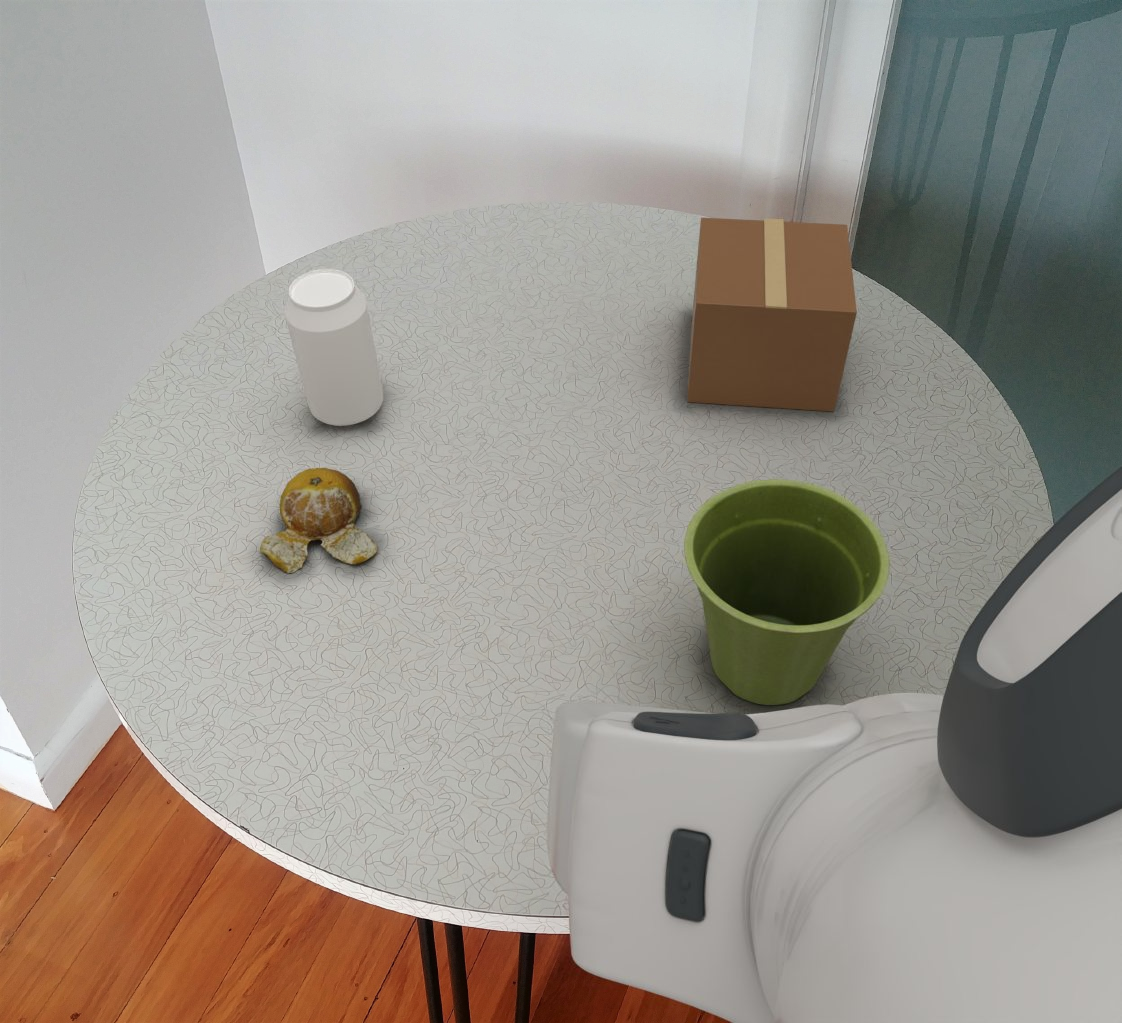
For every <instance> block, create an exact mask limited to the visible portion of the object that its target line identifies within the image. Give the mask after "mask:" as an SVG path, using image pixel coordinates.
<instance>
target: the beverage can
mask: <svg viewBox="0 0 1122 1023" xmlns="http://www.w3.org/2000/svg"><path fill="white" fill-rule="evenodd" d="M284 317H285V321H286V326H287V329H288V333H289V337H290V339H291V340H290V341H291V344H292V348H293V352H294V356H295V360H296V364H297V369H298V371H299V376H300V380H301V383H302V387H303V391H304V395H305V398H306V402H307V405H308V409H309V411H310V413H311V415H312V416H313V417H314V418H315V419H316V420H318V421H319V422H321V423H324V424H327V425H330V426H337V427H344V426H352V425H355V424H359V423H362V422H364V421H366V420H368V419H370V418H371V417H373V416H374V415H375V414H376V413H377V412H378V411H379V410H380V408H381V407H382V405H383V402H384V388H383V383H382V377H381V372H380V366H379V361H378V356H377V355H378V354H377V348H376V344H375V338H374V334H373V328H372V323H371V317H370V313H369V306H368V301H367V298H366V295H365V294H364V293H363V292H362V291H361V290H360V289H359V288H358V286H357V285H356V284H355V280H354V279H353V277H352V276H351V275H350V274H349V273H347V272H346V271H344V270H339V269H335V268H319V269H314V270H310V271H308V272H305V273H302V274H301V275H299V276H298V277H296V278H295V279H294V280H293V281H292V282H291V283H290V284H289V287H288V298H287V302H286V304H285V307H284Z"/></svg>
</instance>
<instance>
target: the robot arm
mask: <svg viewBox="0 0 1122 1023" xmlns="http://www.w3.org/2000/svg"><path fill="white" fill-rule="evenodd" d="M959 644H960V645H959V647H958V649H957V652H956V656H955V659H954V662H953V665H952V668H951V671H950V674H949V678H948V681H947V685H946V687H945V691H944V695H941V694H934V693H926V692H894V693H886V694H878V695H874V696H868V697H865V698H861V699H857V700H855V701H851V702H848V703H845V704H843V705H842V704H836V703H835V704H834V703H831V704H830V703H826V704H815V705H807V706H806V705H805V706H800V707H793V708H789V709H788V708H787V709H782V710H775V711H767V712H759V713H757V712H756V713H748V714H747V713H746V714H744V713H741V712H740V713H739V712H723V713H721V712H720V713H717V712H716V713H715V712H706V711H694V710H685V709H674V708H665V707H664V708H663V707H652V706H641V705H633V704H632V705H631V704H621V703H612V702H611V703H610V702H604V701H595V700H572V701H566V702H565V701H564V702H563V703H561V704H559V706H558V707H557V708H556V710H555V713H554V721H553V733H552V743H551V755H550V765H549V766H550V768H549V780H548V782H549V783H548V799H547V814H546V815H547V816H546V845H547V856H548V861H549V866H550V870H551V872H552V875H553V878H554V880H555V881H556V883H557V884H558V886H559V887H560V888H561V890H562V891H563V892H564V893H565V894H566V895H567V901H568V928H569V942H570V953H571V954H570V955H571V958H572V960H573V961H574V963H575V964H576V965H577V966H578V967H580V969H582V970H584V971H585V972H587V973H589V974H592V975H594V976H597V977H600V978H602V979H606V980H609V981H612V982H616V983H619V984H622V985H626V986H629V987H633V988H636V989H639V990H642V991H646V992H649V993H652V994H656V995H659V996H662V997H665V998H669V999H671V1000H673V1001H677V1002H680V1003H682V1004H685V1005H688V1006H691V1007H693V1008H696V1009H699V1010H702V1011H703V1012H706V1013H709V1014H711V1015H714V1016H717V1017H718V1018H721V1019H724V1020H726V1021H728V1022H730V1023H1122V466H1120V467H1119V468H1118V469H1116V470H1115V471H1114V472H1113V473H1111V474H1110V475H1109V476H1107V478H1105V479H1104V480H1102V482H1100V483H1099V484H1097V485H1096V486H1095V487H1094V488H1093V489H1091V491H1089V493H1087V494H1086V495H1085V496H1084V497H1082V498H1081V499H1080V500H1079V501H1078V502H1077V503H1076V504H1074V505H1073V506H1072V507H1071V508H1069V510H1068V511H1067V512H1065V514H1063V516H1061V517H1060V518H1059V519H1058V520H1057V521H1056V522H1055V523H1054V524H1053V525H1051V527H1050V528H1049V529H1048V530H1047V531H1046V532H1045V533H1044V534H1043V535H1042V536H1041V537H1040V538H1039V539H1038V540H1037V541H1036V542H1035V543H1034V544H1033V546H1031V547H1030V549H1028V551H1027V552H1026V553H1025V554H1024V556H1023V557H1022V558H1021V559H1019V561H1018V562H1017V563H1016V564H1015V565H1014V567H1013V568H1012V569H1011V571H1010V572H1009V573H1008V574H1007V575H1006V577H1005V578H1004V579H1003V580H1002V581H1001V583H1000V584H999V585H998V587H997V588H996V589H995V590H994V592H993V593H992V594H991V596H990V597H989V598H988V599H987V601H986V603H985V604H984V605H983V606H982V608H981V609H980V610H979V611H978V614H977V615H976V616H975V618H974V619H973V620H972V622H971V623H970V625H969V627H968V628H967V630H966V632H965V634H964V635H963V638H962V640H961V642H960V643H959Z"/></svg>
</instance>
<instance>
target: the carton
mask: <svg viewBox="0 0 1122 1023" xmlns="http://www.w3.org/2000/svg"><path fill="white" fill-rule="evenodd" d="M699 223H700V225H699V236H698V247H697V257H696V258H697V259H696V268H695V280H694V291H693V301H692V302H693V303H692V312H691V314H692V315H691V330H690V345H689V361H688V362H689V363H688V377H687V378H688V379H687V394H686V395H687V396H686V402H687V403H696V404H710V405H711V404H712V405H725V406H726V405H728V406H740V407H741V406H742V407H744V406H745V407H757V408H772V409H786V410H787V409H788V410H800V411H801V410H804V411H818V412H819V411H820V412H833V413H834V412H835V410H836V406H837V402H838V398H839V397H838V396H839V392H840V388H841V383H842V380H843V374H844V370H845V367H846V361H847V359H848V358H847V357H848V353H849V350H850V345H851V340H852V337H853V336H852V335H853V332H854V327H855V323H856V318H857V314H858V311H857V301H856V300H857V299H856V292H855V284H854V283H855V282H854V274H853V266H852V256H851V248H850V237H849V230H848V225H847V224H840V223H820V222H800V221H785V220H784V218H765V217H764V218H763V220H762V219H761V220H760V219H741V218H740V219H739V218H720V217H719V218H718V217H700V222H699Z"/></svg>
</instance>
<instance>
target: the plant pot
mask: <svg viewBox="0 0 1122 1023" xmlns="http://www.w3.org/2000/svg"><path fill="white" fill-rule="evenodd" d="M888 550H889V549H888V547H887V544H886V541H885V539H884V536H883V535H882V533H881V531H880V530H879V528H878V527H877V525H876V524H875V523H874V521H873V520H872V519H871V518H870V517H869V515H867V514H866V513H865V512H864V511H863V510H862V509H861V508H860V507H858V506H857V505H856V504H855V503H853V502H852V501H851V500H849V499H847V498H846V497H844V496H842V495H841V494H839V493H837V492H835V491H833V490H830V489H828V488H826V487H825V488H824V487H823V486H819V485H815V484H811V483H810V482H809V483H808V482H804V481H798V480H791V479H784V478H783V479H782V478H772V479H759V480H752V481H747V482H743V483H740V484H737V485H734V486H730V487H729V488H726V489H724V490H722V491H720V492H718V493H717V494H715V495H714V496H712V497H710V498H709V499H708V500H707V501H706V502H704V503H703V504H702V505H701V506H700V507H699V508H698V509H697V511H695V513H694V515H693V516H692V518H691V519H690V522H689V524H688V525H687V527H686V532H685V535H684V542H683V552H684V560H685V563H686V568H687V569H688V572H689V574H690V577H691V578H692V580H693V582H694V584H695V585H696V588H697V590H698V593H699V596H700V597H701V601H702V609H703V615H704V616H703V617H704V622H705V627H706V628H705V630H706V635H707V636H706V637H707V642H708V649H709V650H708V651H709V657H710V662H711V667H712V669H713V672H714V674H715V676H716V678H718V680H720V681H721V683H722V684H724V685H725V686H726V687H727V688H728V690H730V692H731V693H732V694H734V695H735V696H737V697H739V698H741V699H742V700H745V701H748V702H750V703H753V704H758V705H763V706H778V705H785V704H790V703H792V702H794V701H795V702H796V700H798V699H799V698H801V697H802V696H805V695H806V694H807V693H808V692H809V691H811V690H812V689H813V688H814V687H815V685H816V684H817V682H818V680H819V678H820V677H821V675H822V673H823V671H824V670H825V668H826V667H827V665H828V663H829V662H830V659H831V658H832V656H833V654H834V652H835V651H836V649H837V647H838V646H839V644H840V643H841V641H842V639H843V637H844V636H845V634H846V632H847V630H848V629H849V628H850V627H851V626H852V625H853V624H854V623H855V621H857V619H858V618H860V617H862V616H863V615H864V614H866V613H867V612H868V611H869V610H870V609H871V608H872V607H873V606H874V605H875V604H876V603H877V601H878V600H879V599H880V597H881V596H882V594H883V592H884V590H885V588H886V585H887V584H888V580H889V576H890V568H891V563H890V553H889V551H888Z"/></svg>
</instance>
